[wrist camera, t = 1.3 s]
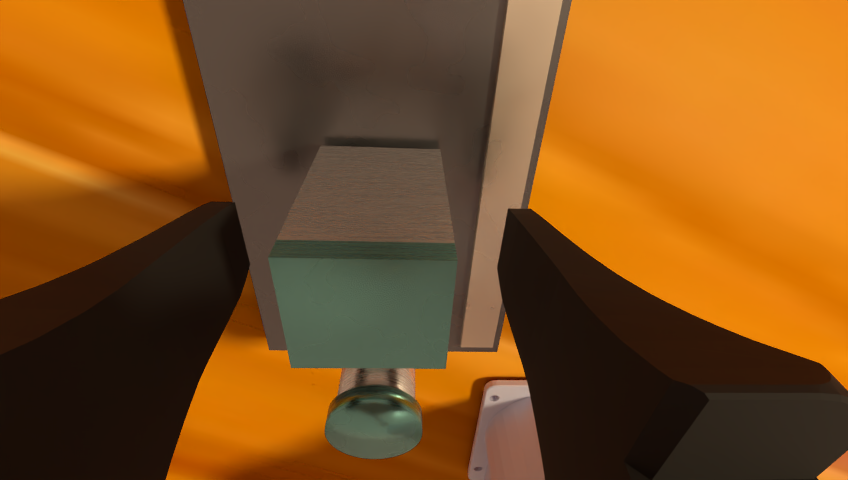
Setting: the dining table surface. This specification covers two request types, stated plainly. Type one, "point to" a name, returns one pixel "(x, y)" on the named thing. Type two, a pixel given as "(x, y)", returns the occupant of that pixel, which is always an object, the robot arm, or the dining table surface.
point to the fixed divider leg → (375, 413)
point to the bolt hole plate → (383, 115)
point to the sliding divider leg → (367, 261)
